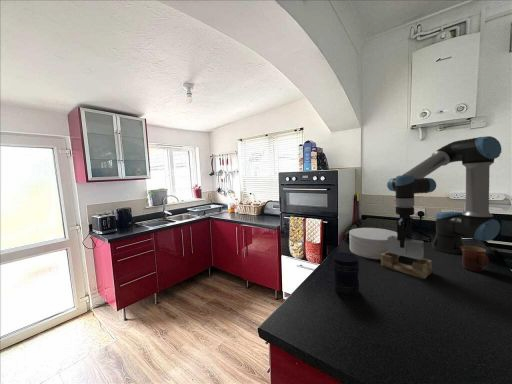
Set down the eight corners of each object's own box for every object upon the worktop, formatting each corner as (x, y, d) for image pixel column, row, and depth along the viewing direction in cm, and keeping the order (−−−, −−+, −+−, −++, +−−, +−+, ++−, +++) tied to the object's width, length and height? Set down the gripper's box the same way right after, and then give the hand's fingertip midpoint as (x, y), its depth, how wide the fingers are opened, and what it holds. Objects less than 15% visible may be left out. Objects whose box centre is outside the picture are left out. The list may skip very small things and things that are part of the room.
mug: (455, 265, 107) (455, 245, 106) (476, 265, 105) (476, 245, 104) (474, 276, 95) (475, 254, 95) (498, 277, 94) (498, 254, 93)
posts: (388, 260, 116) (388, 250, 116) (431, 272, 101) (432, 260, 101) (380, 266, 111) (380, 254, 110) (425, 278, 95) (425, 266, 95)
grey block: (391, 250, 112) (391, 235, 112) (423, 257, 101) (423, 241, 100) (387, 252, 110) (387, 237, 109) (420, 260, 98) (420, 243, 98)
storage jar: (348, 300, 82) (347, 263, 81) (329, 289, 91) (327, 256, 90) (364, 293, 87) (363, 258, 86) (344, 283, 96) (343, 251, 95)
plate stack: (399, 247, 136) (399, 229, 136) (401, 263, 113) (401, 242, 112) (352, 242, 152) (352, 226, 151) (346, 255, 128) (345, 236, 127)
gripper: (403, 203, 112) (403, 246, 113) (388, 208, 101) (389, 254, 103) (420, 204, 106) (420, 249, 107) (406, 209, 95) (406, 259, 97)
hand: (404, 252), depth 105 cm, fingers closed on grey block, 4 cm apart
